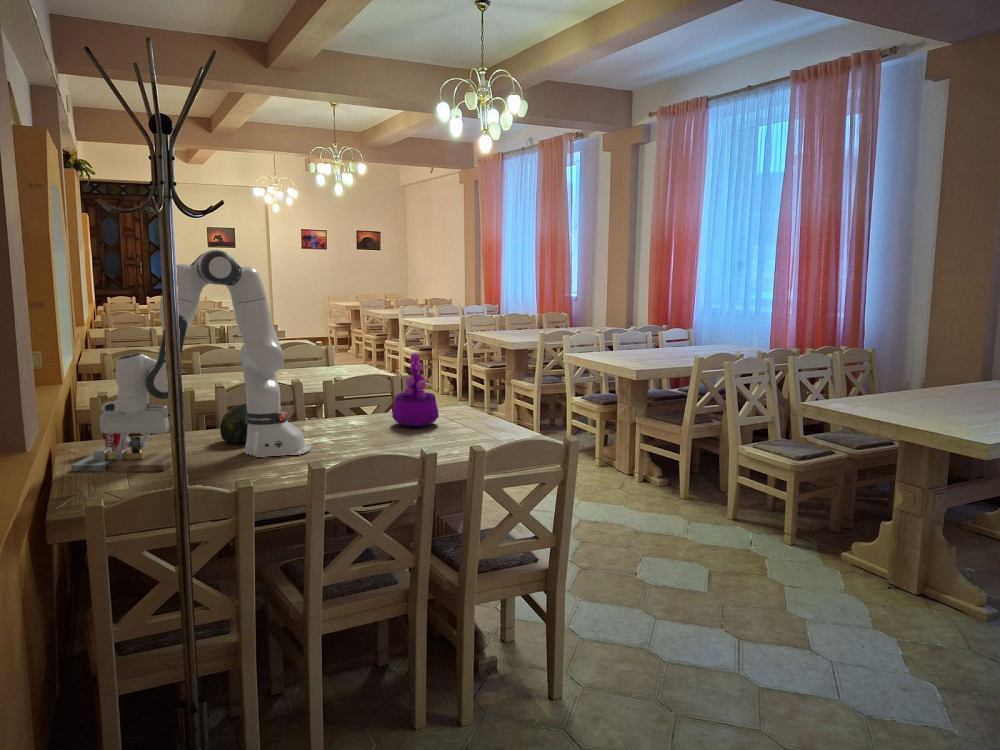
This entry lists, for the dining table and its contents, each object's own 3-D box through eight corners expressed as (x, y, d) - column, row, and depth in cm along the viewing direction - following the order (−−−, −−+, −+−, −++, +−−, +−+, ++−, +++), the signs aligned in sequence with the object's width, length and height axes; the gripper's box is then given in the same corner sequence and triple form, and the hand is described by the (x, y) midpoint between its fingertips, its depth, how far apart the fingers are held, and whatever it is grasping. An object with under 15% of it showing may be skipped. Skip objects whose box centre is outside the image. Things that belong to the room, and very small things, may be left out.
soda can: (102, 454, 240) (100, 417, 238) (110, 449, 247) (107, 412, 245) (125, 453, 241) (122, 416, 239) (132, 448, 248) (129, 412, 246)
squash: (205, 428, 257) (225, 400, 251) (236, 421, 270) (256, 395, 265) (227, 457, 253) (248, 429, 248) (258, 449, 267) (278, 422, 262)
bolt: (145, 456, 229) (144, 435, 228) (141, 459, 226) (140, 438, 225) (97, 457, 228) (96, 436, 227) (93, 459, 225) (91, 438, 224)
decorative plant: (389, 421, 296) (388, 350, 291) (432, 419, 302) (432, 349, 297) (396, 431, 278) (395, 356, 274) (442, 429, 284) (442, 354, 279)
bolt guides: (129, 457, 230) (129, 446, 230) (122, 461, 225) (121, 450, 225) (102, 457, 229) (101, 447, 229) (94, 461, 225) (94, 451, 224)
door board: (181, 459, 236) (180, 453, 235) (164, 471, 222) (163, 464, 222) (94, 459, 234) (93, 453, 234) (71, 471, 220) (71, 465, 220)
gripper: (171, 402, 229) (173, 444, 231) (105, 402, 227) (108, 444, 230) (163, 406, 223) (165, 449, 225) (95, 406, 221) (99, 449, 223)
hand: (136, 446), depth 227 cm, fingers closed on bolt, 3 cm apart
